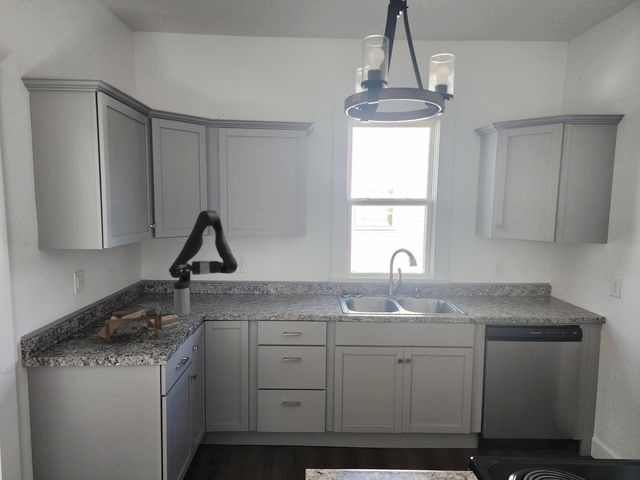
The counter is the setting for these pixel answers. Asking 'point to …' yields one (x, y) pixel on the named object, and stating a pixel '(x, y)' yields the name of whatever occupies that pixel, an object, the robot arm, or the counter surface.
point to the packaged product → (164, 322)
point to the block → (112, 328)
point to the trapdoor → (144, 313)
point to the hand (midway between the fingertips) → (169, 269)
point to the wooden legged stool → (156, 320)
